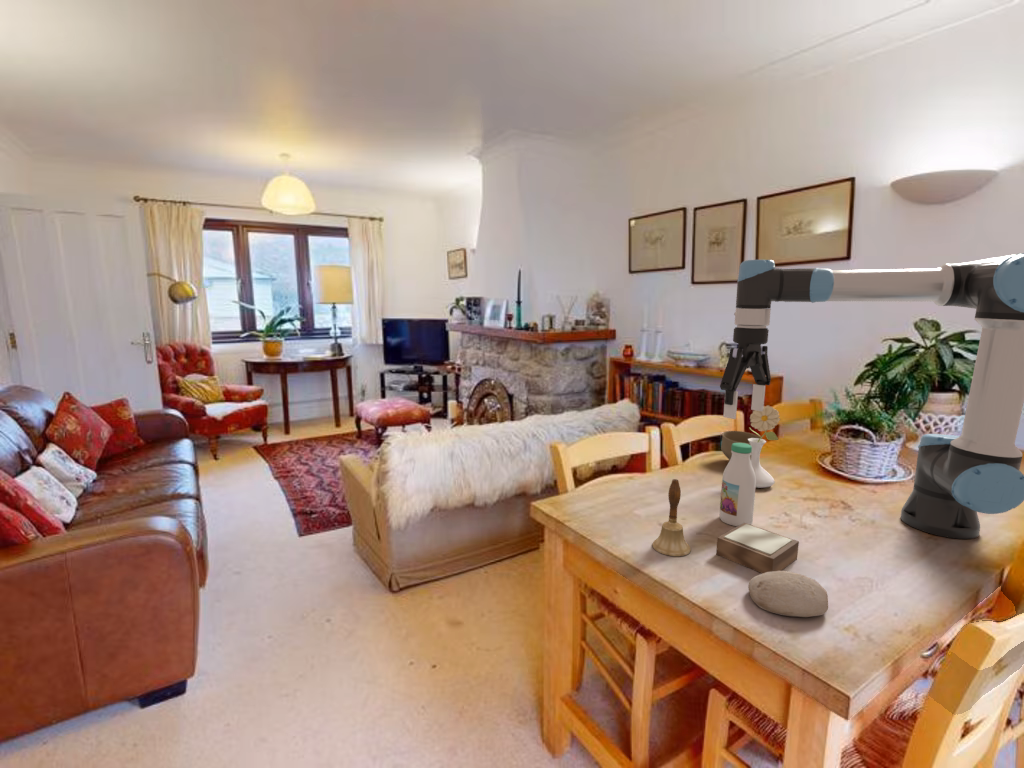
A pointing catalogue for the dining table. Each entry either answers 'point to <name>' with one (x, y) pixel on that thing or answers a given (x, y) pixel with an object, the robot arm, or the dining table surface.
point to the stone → (788, 594)
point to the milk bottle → (738, 487)
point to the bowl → (734, 441)
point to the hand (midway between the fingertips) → (743, 414)
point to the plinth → (757, 548)
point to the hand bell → (672, 528)
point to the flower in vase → (762, 442)
